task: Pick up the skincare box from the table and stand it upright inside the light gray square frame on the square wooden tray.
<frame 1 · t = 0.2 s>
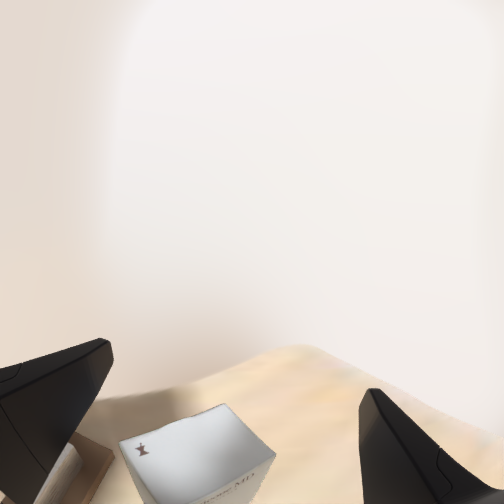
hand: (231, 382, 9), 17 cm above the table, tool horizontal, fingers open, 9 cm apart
square wooden tray: (13, 477, 10), on the table
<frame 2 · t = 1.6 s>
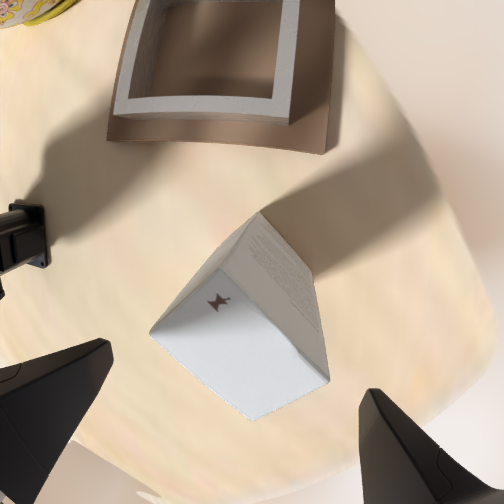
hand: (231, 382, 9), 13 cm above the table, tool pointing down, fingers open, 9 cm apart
skincare box: (265, 259, 21), on the table
square wooden tray: (219, 54, 17), on the table
light gray square frame: (210, 40, 15), on the square wooden tray, point 3 cm above the table
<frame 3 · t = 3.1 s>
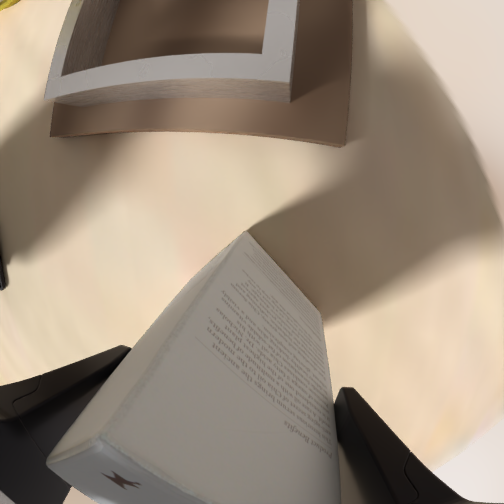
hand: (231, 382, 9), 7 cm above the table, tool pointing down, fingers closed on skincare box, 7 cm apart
skincare box: (256, 296, 15), on the table, touching gripper
square wooden tray: (194, 14, 11), on the table
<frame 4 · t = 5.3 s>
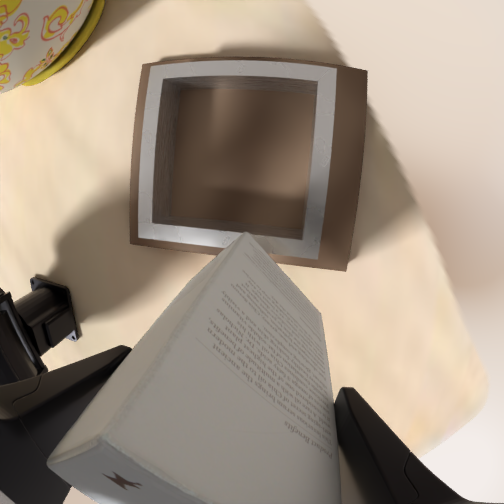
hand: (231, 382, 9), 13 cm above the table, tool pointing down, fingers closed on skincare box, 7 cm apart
skincare box: (257, 297, 15), point 6 cm above the table, touching gripper
flowerpot: (61, 28, 17), on the table
square wooden tray: (242, 155, 19), on the table
light gray square frame: (234, 152, 16), on the square wooden tray, point 3 cm above the table
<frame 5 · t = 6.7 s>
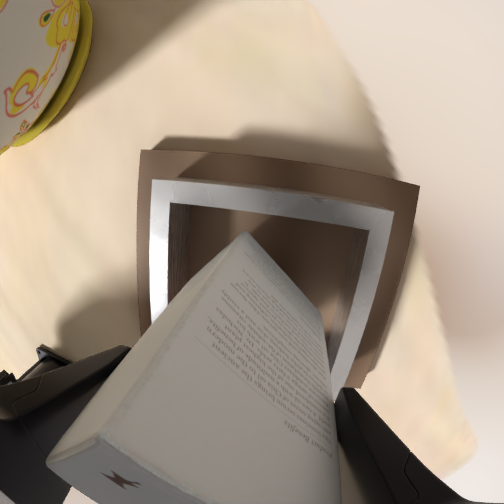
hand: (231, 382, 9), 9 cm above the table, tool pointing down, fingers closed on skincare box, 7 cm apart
skincare box: (256, 296, 15), point 3 cm above the table, touching gripper
flowerpot: (42, 69, 16), on the table
square wooden tray: (264, 276, 18), on the table
light gray square frame: (259, 295, 15), on the square wooden tray, point 3 cm above the table
when the fingers open (9 cm above the table, at t = 7.7 s): skincare box drops 1 cm, resting on square wooden tray.
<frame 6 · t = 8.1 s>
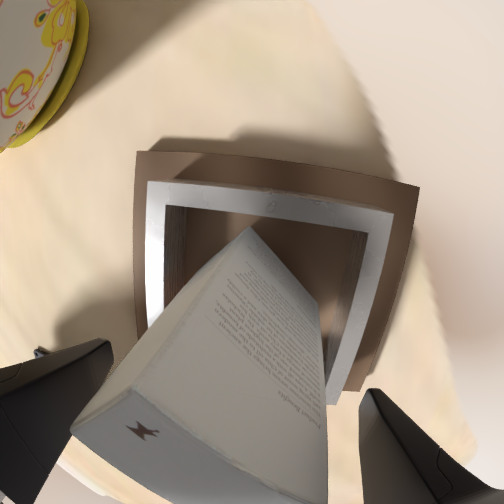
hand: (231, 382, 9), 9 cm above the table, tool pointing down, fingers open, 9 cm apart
skincare box: (259, 286, 16), point 1 cm above the table, touching square wooden tray
flowerpot: (39, 69, 15), on the table
square wooden tray: (262, 279, 17), on the table
light gray square frame: (256, 298, 15), on the square wooden tray, point 3 cm above the table
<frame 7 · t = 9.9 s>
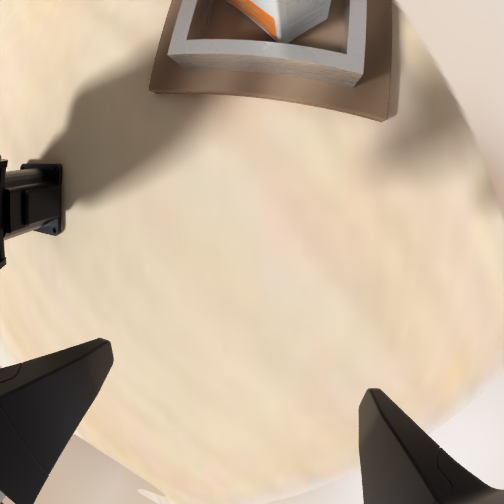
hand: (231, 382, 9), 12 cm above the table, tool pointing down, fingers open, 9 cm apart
skincare box: (276, 10, 14), point 1 cm above the table, touching square wooden tray
square wooden tray: (278, 16, 15), on the table
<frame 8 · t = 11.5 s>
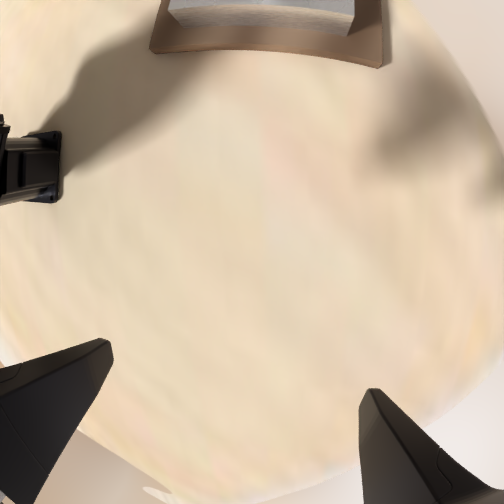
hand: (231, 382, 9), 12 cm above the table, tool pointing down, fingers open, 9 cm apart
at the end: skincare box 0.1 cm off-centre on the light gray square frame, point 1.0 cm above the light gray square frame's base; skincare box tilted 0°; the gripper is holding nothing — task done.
